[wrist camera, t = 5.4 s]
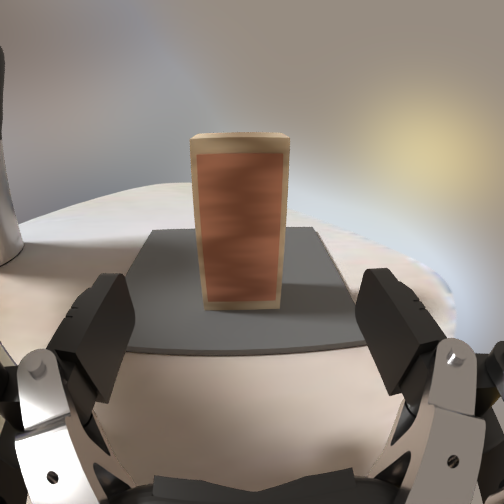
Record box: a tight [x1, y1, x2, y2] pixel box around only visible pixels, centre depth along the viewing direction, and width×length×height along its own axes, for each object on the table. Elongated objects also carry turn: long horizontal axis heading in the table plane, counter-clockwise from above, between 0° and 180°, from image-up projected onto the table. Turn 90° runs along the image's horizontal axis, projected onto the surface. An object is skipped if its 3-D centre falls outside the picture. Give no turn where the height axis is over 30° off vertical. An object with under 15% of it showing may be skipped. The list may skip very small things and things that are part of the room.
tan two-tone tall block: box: [190, 132, 290, 310], centre depth 20 cm, size 6×4×13 cm, turn 93°
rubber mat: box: [125, 227, 367, 355], centre depth 27 cm, size 21×20×1 cm
